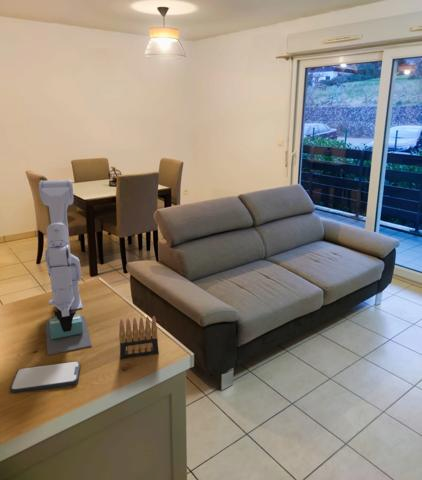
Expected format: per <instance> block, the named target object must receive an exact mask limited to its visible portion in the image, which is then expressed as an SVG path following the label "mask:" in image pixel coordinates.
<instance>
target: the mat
mask: <svg viewBox="0 0 422 480" xmlns="http://www.w3.org/2000/svg"><path fill="white" fill-rule="evenodd" d="M85 316H86V315H81V320H82V327H83V333H81V334H76V335H71V336H66V337H61V338H56V339H51V333H50V324H49V321H48V322H45V338H46V355H47V356H53V355H57V354H62V353H63V354H64V353H67V352H72V351H77V350H81V349H82V350H83V349H86V348H90V347H92V341H91V338H90V332H89V328H88V325H87V320H86V317H85Z"/></svg>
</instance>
